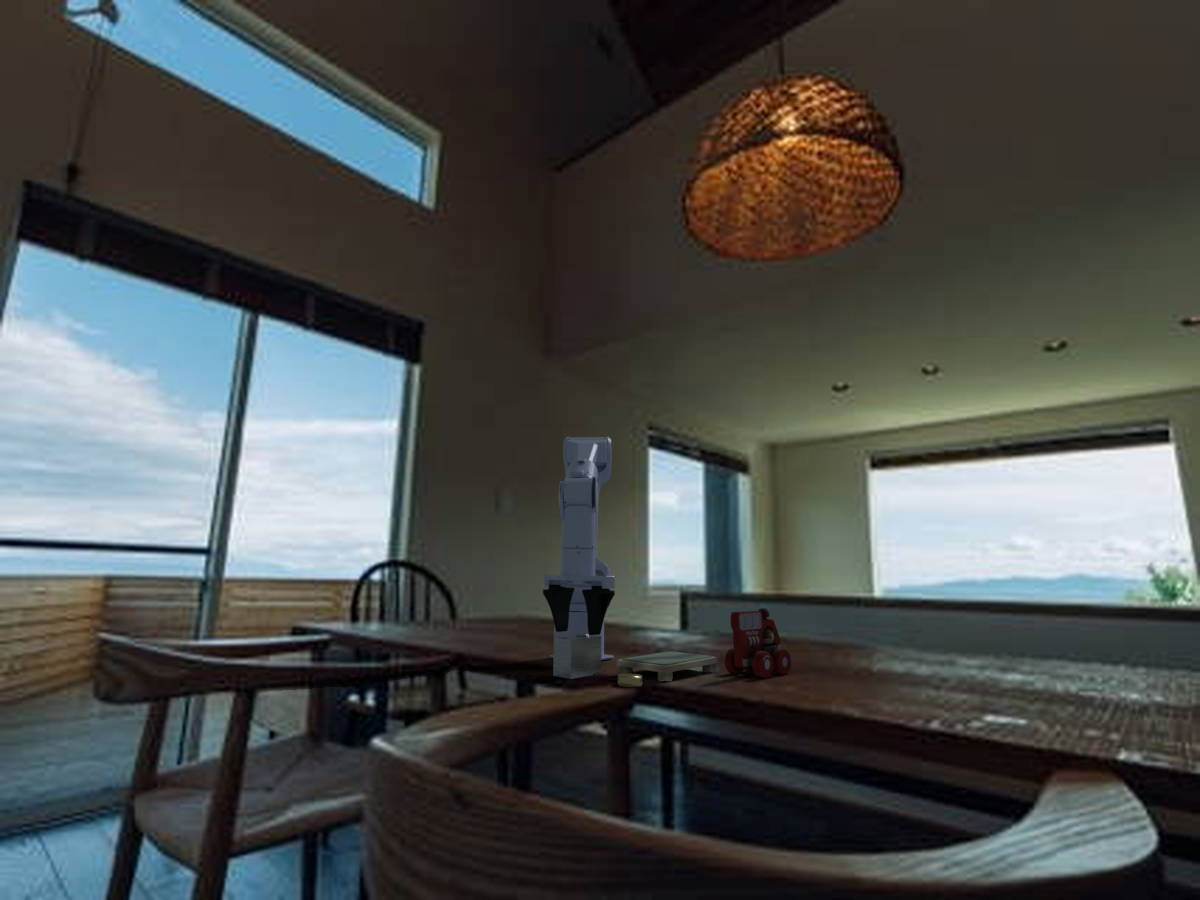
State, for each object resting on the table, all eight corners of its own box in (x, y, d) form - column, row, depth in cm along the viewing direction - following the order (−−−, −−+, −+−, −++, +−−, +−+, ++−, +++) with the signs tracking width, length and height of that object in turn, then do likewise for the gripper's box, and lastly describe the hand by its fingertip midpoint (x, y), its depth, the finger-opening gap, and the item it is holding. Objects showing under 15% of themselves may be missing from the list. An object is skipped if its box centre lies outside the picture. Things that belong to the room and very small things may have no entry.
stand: (616, 674, 105) (616, 658, 105) (669, 665, 115) (669, 650, 115) (666, 682, 98) (666, 665, 98) (717, 671, 108) (717, 655, 108)
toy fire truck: (798, 672, 108) (795, 608, 109) (755, 681, 99) (752, 611, 101) (762, 667, 113) (760, 606, 114) (718, 675, 104) (716, 609, 106)
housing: (553, 676, 104) (553, 635, 105) (583, 671, 109) (584, 632, 110) (570, 679, 101) (571, 637, 102) (601, 673, 106) (601, 634, 107)
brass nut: (612, 686, 96) (612, 675, 96) (628, 683, 99) (628, 672, 99) (631, 689, 94) (631, 678, 94) (647, 686, 96) (647, 675, 97)
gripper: (531, 549, 110) (529, 631, 108) (593, 547, 101) (593, 638, 98) (561, 550, 116) (560, 628, 113) (623, 548, 106) (623, 634, 103)
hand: (577, 633), depth 106 cm, fingers open, 7 cm apart
